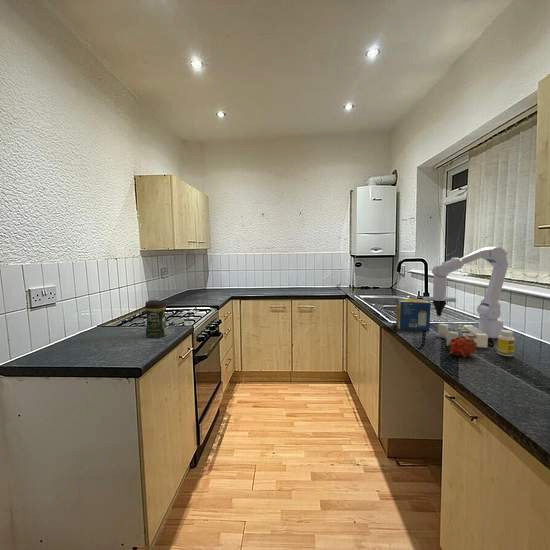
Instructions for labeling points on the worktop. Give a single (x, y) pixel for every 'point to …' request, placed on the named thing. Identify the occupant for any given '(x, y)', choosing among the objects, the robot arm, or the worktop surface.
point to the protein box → (413, 314)
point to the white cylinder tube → (442, 330)
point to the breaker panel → (474, 335)
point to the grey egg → (451, 336)
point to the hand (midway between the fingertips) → (438, 315)
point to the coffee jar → (155, 319)
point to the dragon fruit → (462, 346)
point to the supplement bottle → (506, 343)
